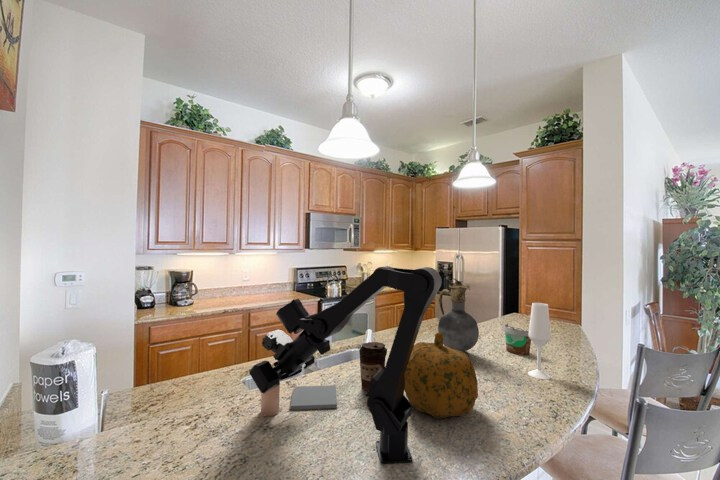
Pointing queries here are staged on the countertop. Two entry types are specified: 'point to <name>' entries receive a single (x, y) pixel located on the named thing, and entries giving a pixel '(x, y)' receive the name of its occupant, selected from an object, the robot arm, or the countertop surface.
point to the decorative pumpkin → (440, 380)
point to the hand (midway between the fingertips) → (266, 384)
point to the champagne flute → (539, 334)
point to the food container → (517, 340)
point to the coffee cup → (371, 361)
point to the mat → (314, 397)
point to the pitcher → (457, 320)
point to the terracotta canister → (270, 401)
